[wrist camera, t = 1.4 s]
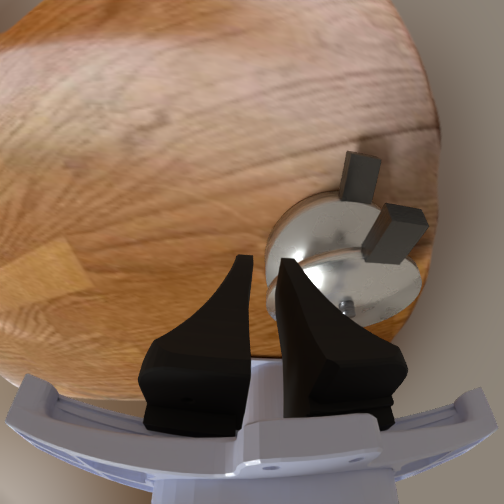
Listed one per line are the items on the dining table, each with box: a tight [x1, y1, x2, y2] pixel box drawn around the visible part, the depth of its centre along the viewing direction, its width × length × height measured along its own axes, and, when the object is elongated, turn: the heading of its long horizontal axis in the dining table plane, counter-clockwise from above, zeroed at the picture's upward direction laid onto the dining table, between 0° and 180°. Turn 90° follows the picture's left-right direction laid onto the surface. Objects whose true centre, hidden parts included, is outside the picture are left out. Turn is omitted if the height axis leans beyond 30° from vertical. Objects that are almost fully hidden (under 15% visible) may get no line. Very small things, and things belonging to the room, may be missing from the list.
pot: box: [265, 151, 381, 287], centre depth 22 cm, size 17×12×3 cm
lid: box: [266, 203, 429, 327], centre depth 18 cm, size 16×12×2 cm
